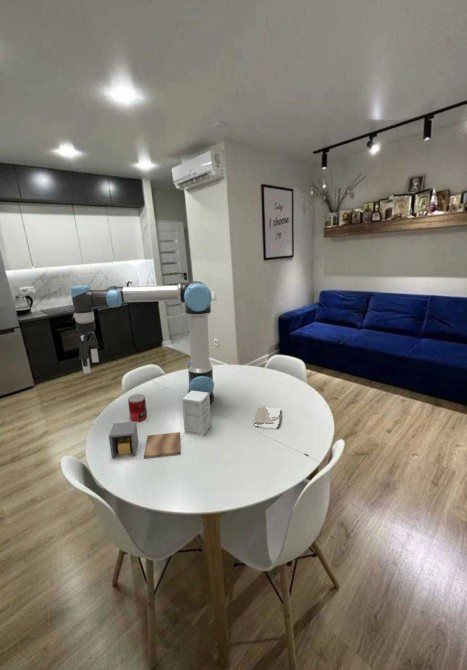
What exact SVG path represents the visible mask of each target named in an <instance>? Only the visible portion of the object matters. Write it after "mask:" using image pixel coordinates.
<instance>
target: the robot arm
mask: <svg viewBox="0 0 467 670" xmlns="http://www.w3.org/2000/svg"><path fill="white" fill-rule="evenodd" d="M70 291H71V293H70V294H71V300H72V307H73V317H74V319H75V322H76V323H75V327H76V331H77V332H79V333H81V335H78V341H79V345H78V346H79V347H78V348H79V349H78V353H79V354H78V360H81V365H82V371H83V374H91V373H92V372H91V371H92V370H91V363H90V358H89V347H90V353H91V354H90V356H91V362H92V363H99V362H100V361H99V354H98V349H99V348H100V346H99V343H98V340H97V337H96V333H95V330H96V322H95V314H94V308H96V309H97V308H118V307H119V308H120V307H121V305H122V303H141V302H143V303H145V302H173V301H176V302H179V303H184V311H185V314H186V315H187V316H188V322H189V323H188V325H189V341H190V345H189V347H190V360H189V361H188V362H187V369H188V370H187V372H188V375H187V376H188V391H187V394H188V393H189V392H190V391H191V390H192V391H200V392H207V393H209V396H210V405H212V404H213V403H214V402H215V394H214V388H215V382H214V375H213V374H214V373H213V372H214V371H213V366H212V365H211V362H210V345H209V319H208V316H209V315H210V314H211V313H212V310H211V309H212V308H211V307H212V305H211V303H212V292H211V290H210V289H209V287H208V286H207V285H206V284H205V283H203V282H201V281H197V280H194V281H189V282H187V281H186V282H178V284H172V285H131V286H118V285H112V286H111V285H110V286H109V287H107V288H105V289H96V290H95V289H94V290H93V289H92V288H91V286H90V285H83V284H81V285H74V286H71V288H70ZM187 394H186V395H187ZM213 401H214V402H213ZM212 402H213V403H212Z"/></svg>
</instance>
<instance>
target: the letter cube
mask: <svg viewBox="0 0 467 670" xmlns="http://www.w3.org/2000/svg"><path fill="white" fill-rule="evenodd" d="M117 450H118V455H122V454H131V452H132V450H133V447H132V439H131V437H125V438H120V439H119V442H118V447H117Z"/></svg>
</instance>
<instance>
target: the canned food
mask: <svg viewBox="0 0 467 670" xmlns="http://www.w3.org/2000/svg"><path fill="white" fill-rule="evenodd" d="M127 399H128V403H127V404H128V411H129V419H130V421H131V422H135V421H136V423H139V422H143V421H145V420H146V419H147V416H148V414H147V412H148V411H147V401H146V396H145V395H144V394H142V393H138V394H137V393H135V394H132V395H130V396H129V397H128V398H127Z"/></svg>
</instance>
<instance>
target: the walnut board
mask: <svg viewBox="0 0 467 670" xmlns="http://www.w3.org/2000/svg"><path fill="white" fill-rule="evenodd" d="M178 455H181V432H180V431H179V432H178V431H177V432H169V433H158V434H150V435H149V434H148V435H147V436H146V441H145V448H144V453H143V459H153V458H163V457H169V456H170V457H171V456H178Z"/></svg>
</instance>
